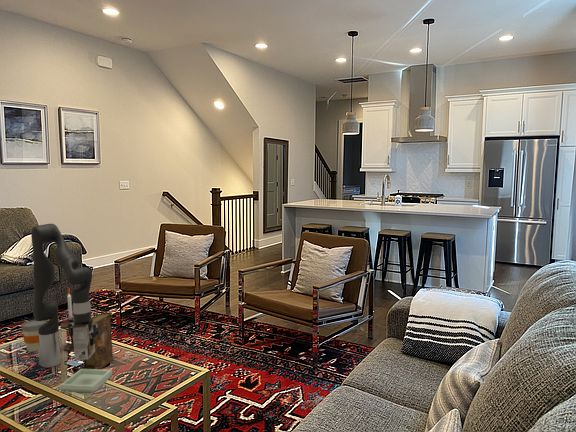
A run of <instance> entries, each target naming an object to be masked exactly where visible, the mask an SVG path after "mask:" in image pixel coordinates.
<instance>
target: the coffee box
mask: <svg viewBox="0 0 576 432" xmlns="http://www.w3.org/2000/svg"><path fill="white" fill-rule="evenodd" d="M91 322H92V324H93V319H91ZM91 328H92V327H91ZM91 328H90V329H89V325H88V324H84V323H75V324H74V325H73V326H72V330H73V342H74V351H73V354H74V360H75V361H81V360H83V361H84V359H89V358H90V357H91V356H92V354H93V353H94V352H95V344H94V345H93V346H90V337H89V332H90V331H91ZM92 330H93V328H92Z"/></svg>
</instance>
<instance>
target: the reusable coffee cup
mask: <svg viewBox="0 0 576 432" xmlns="http://www.w3.org/2000/svg"><path fill="white" fill-rule="evenodd" d="M47 322H48V321H47V320H43V321H36V320H35V319H32V320H27V321H24V322H23V323H22V324H21V331H22V338H23V342H24V344H25V347H26V350H27V352H29V353H31V352H32V353H33V352H38V348H39V347H40V344H39V333H38V329H39V327H41V326H42V325H44V324H45V323H47Z"/></svg>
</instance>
